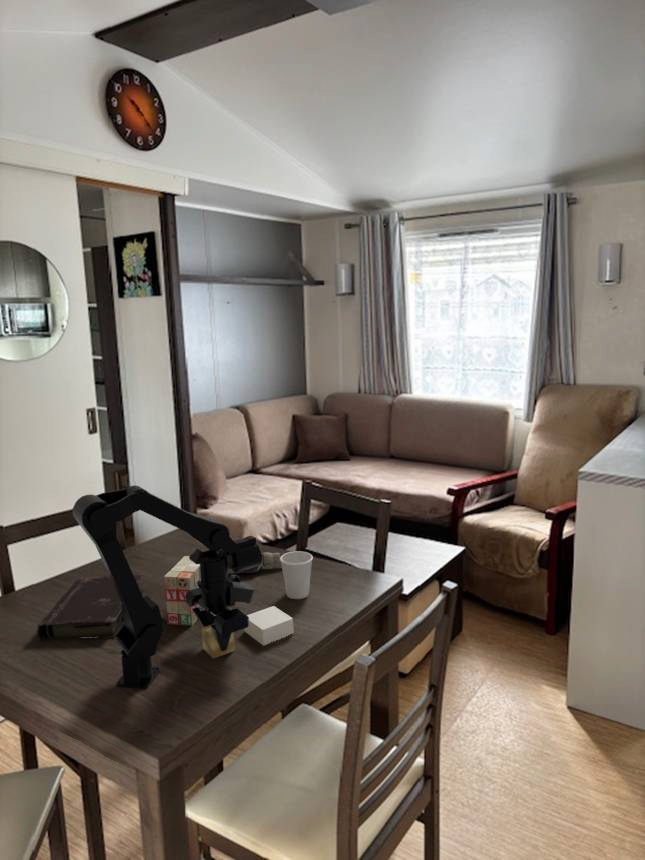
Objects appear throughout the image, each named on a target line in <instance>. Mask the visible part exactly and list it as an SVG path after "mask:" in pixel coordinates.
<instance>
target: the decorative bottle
mask: <svg viewBox="0 0 645 860" xmlns="http://www.w3.org/2000/svg"><path fill="white" fill-rule="evenodd" d="M261 554H262V563H261V565H260V566H256V567H253V568H249V569H246V570H242V571H239V572H234V571H233V570H232V569H229V568H228V567H227V569H228V576H229V575H237V574H244V573H245V574H254V573H258V572H259V571H260V570H262V569H263V568H265V567H266V566H270V565H272V564H277V563H278V564H279V563H280V562H281V561H280V557H281V556H282V555H284V554H285V553H280V552H273V553H272V552H267V551H266V552H261ZM253 572H254V573H253Z"/></svg>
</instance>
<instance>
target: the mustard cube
mask: <svg viewBox="0 0 645 860" xmlns="http://www.w3.org/2000/svg"><path fill="white" fill-rule="evenodd" d="M212 625H214V624H212ZM234 634H235V632H233V633H232V634H231V637H230V640H229V644H228V647H227V650H225V651H221V649H220V647H219V645H218V642H217V640H216V638H215V635H214V633H213V631H212V628H211V625H209V626H206V627H201V637H202V638H201V639H202V650H204V651H205V652H206V653H207V654H208V655H209V656H210V657H211V658H212V660H213V659H216V658H219V657H221V656H222V657H223V656H225V655H228V654H230V653H232V652H233V653H234V652H235V635H234Z"/></svg>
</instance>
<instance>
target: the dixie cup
mask: <svg viewBox="0 0 645 860" xmlns="http://www.w3.org/2000/svg"><path fill="white" fill-rule="evenodd" d="M283 554H284V555H282V556H281V557H280V562H281V564H280V565H281V568H282V569H281V570H282V575H283V581H284V586H285V591H286V592H285V593H286V596H287V598H289V599H294V600H302V599H305V598H307V597H308V596H309V594H310V587H311V585H310V583H311V576H312V575H311V574H312V564H313V562H312V561H313V560H314V557H313V555H312V554H311V553H309V552H307V551H298V550H297V551H290V552H289V551H288V552H286V553H283Z"/></svg>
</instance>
